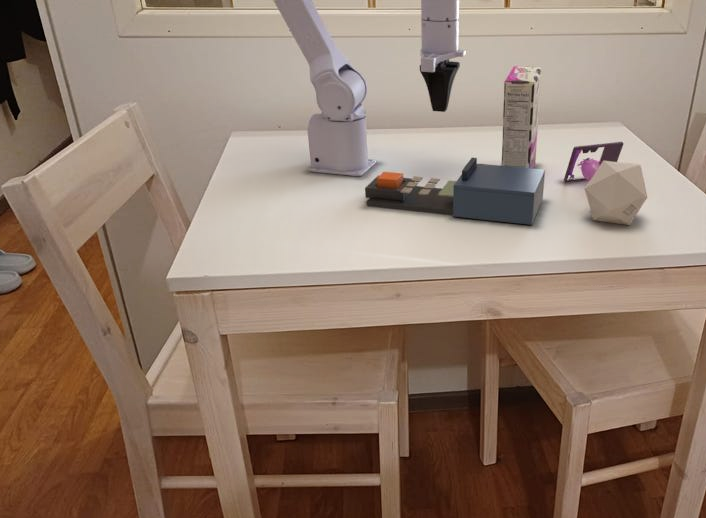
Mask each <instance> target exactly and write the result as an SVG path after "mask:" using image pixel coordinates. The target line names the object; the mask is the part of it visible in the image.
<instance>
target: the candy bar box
mask: <svg viewBox="0 0 706 518" xmlns="http://www.w3.org/2000/svg"><path fill="white" fill-rule="evenodd" d="M541 75H542V67H540V66H527V65H525V66H522V65H517V66H513V67H512V68H511V70H510V71H509V73H508V75H507V76H506V78H505V80H504V81H503V84H504V85H503V86H504V87H503V109H502V110H503V113H502V114H503V116H502V142H501V144H502V146H501V166H511V167H522V168H533V169H535V167H536V159H537V141H538V126H539V125H538V124H539V112H540V111H539V110H540V95H541V93H540V92H541V78H542V77H541Z"/></svg>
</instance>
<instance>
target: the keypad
mask: <svg viewBox="0 0 706 518" xmlns="http://www.w3.org/2000/svg"><path fill="white" fill-rule="evenodd" d="M423 179H424V177H423V176H413V177H411V181H412V182H409V183H408V184H407V185H406V187H404V188H403V189H402V190H401V193H410V192H411V191H412V190H413V188H415V187H416V186H418V184H419V183H420V182H421V181H422V180H423ZM440 181H441V178H435V177H431V178H430V179H429V180H428V181H427V183H426V184H425V185H424V186H422V187H423V189H422V190H421V191H420V192H419V194H420V195H428V194H429V193H430V192H431V190H427V189H433V188H436V186H437V184H438V183H439V182H440ZM456 181H457V180H448V181H447V182H446V183H445V184H444V186H443V187H442V190H441V191H440V192H439V194H438V196H448V197H453V189H454V188H453V187H454V184H455V182H456ZM407 187H412V188H407Z"/></svg>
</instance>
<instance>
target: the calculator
mask: <svg viewBox="0 0 706 518" xmlns="http://www.w3.org/2000/svg"><path fill="white" fill-rule="evenodd" d="M380 175H381V174H379V175H377V176H376V177H375V178H373V180H372V181H370V183H368V184H367V185H366V186H365V187H364V191H365V192H364V195H365V196H364V197H365V198H366V199H367V200H366V207H368V208H379V209H388V210H397V211H408V212H417V213H427V214H436V215H444V216H453V197H448V196H438V194H439V192H440V191H441V190H442V188H443V187H442V188H441V187H434V188H433V189H427V190H431V192H430V193H429V194H428V195H420V194H419V192H420V191H421V190H422V189H423V187H424V186H420V185H416V187H415V188H413V190H412V191H411V192H410V193H401V190H402V189H403V188H404V187H406V185H407V184H408V183H409V182H412V181H411V179H412V177H411V178H409V177H403V184H402V185H401V186H400V187H399V188H388V187H378V186H377V178H378V177H379V176H380ZM407 188H412V187H407Z"/></svg>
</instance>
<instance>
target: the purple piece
mask: <svg viewBox="0 0 706 518" xmlns="http://www.w3.org/2000/svg"><path fill="white" fill-rule="evenodd" d="M624 144H625V143H624V142H623V141H615V142H606V143H597V144H596V143H595V144H588V145H578V146H574V147H573V149H572V151H571V155H570V157H569V161H568V165H567V168H566V170H565V171H566V172H565V174H564V178H563V182H564V183H568V182H579V181H588V182H589V181H590V180H591V178H592V177H593V175H594V174H595V172H596V171H597V169H598V168H599V166H600V165H601V163H602V162H603V161H612V162H618V160H619V158H620V155H621V152H622V150H623V146H624ZM599 148H603V150H602V153H601V155H600V159H599V160H597V159H596V158H592V157H587V158H583V160H582V161H580V162H579V163H578V164H577V167H579V166H581V167H579V169H580V170H581V174H582V177H576V178H575V174H573V173H574V168H575V166H576V163H577V160H578V158H579V156H580V154H581V153H582V154H589V152H590V153H596V152H597V150H599Z"/></svg>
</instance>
